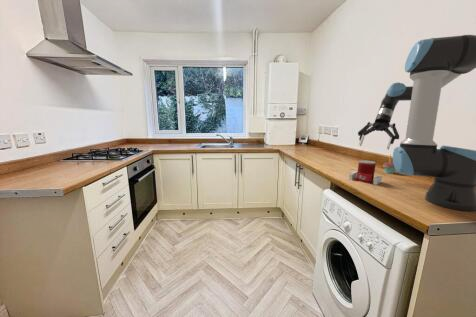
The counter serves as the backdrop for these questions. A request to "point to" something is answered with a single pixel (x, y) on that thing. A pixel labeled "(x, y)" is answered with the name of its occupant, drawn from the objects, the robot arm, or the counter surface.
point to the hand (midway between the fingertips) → (373, 146)
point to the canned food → (366, 171)
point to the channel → (376, 179)
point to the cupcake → (389, 167)
